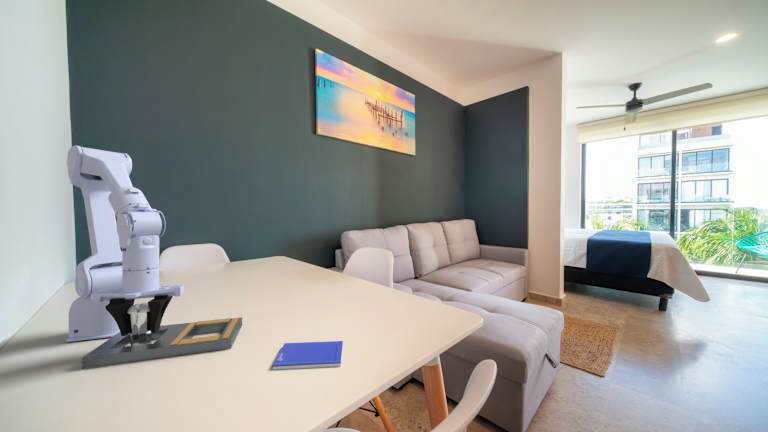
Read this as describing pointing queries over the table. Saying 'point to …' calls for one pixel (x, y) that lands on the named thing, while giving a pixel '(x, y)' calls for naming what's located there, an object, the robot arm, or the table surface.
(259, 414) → the table surface
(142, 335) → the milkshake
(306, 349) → the hard drive
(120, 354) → the grey slotted plate
